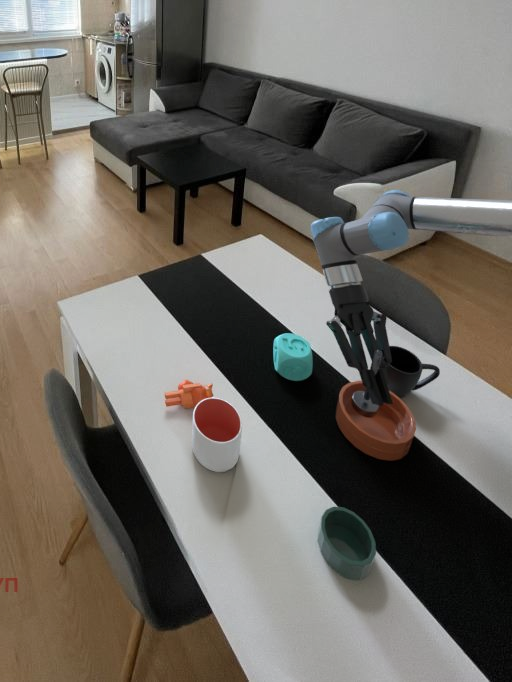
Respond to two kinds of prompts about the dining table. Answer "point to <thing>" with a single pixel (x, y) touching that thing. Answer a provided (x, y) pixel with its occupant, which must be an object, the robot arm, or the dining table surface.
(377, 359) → the ladle
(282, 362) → the decorative dice
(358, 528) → the faceted green pot
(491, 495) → the dining table surface
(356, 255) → the robot arm
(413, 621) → the dining table surface
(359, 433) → the bowl
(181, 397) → the orange toy figurine
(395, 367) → the mug
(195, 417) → the cup
